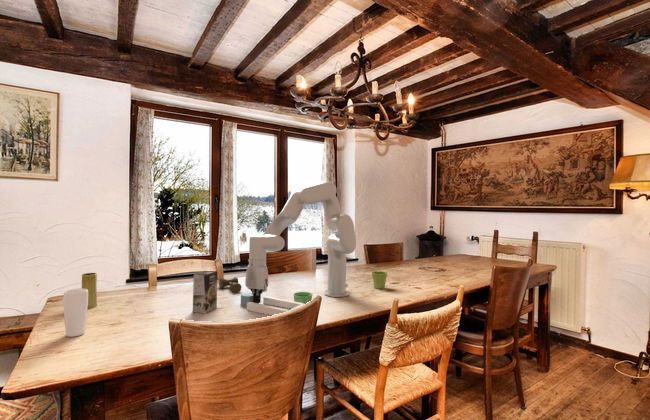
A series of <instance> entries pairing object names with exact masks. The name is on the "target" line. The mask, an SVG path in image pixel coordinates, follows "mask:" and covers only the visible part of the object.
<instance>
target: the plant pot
mask: <svg viewBox="0 0 650 420" xmlns="http://www.w3.org/2000/svg"><path fill="white" fill-rule="evenodd" d="M370 274H371V276H372V282H373V283H372V284H373V289H378V290H379V289H382V290H383V288H384V289H385V288H386V281H387V277H388V274H389V273H388V271H387V272H386V271H383V270H382V271H381V270H378V271H377V270H376V271H375V270H374V271H371V272H370Z"/></svg>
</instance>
